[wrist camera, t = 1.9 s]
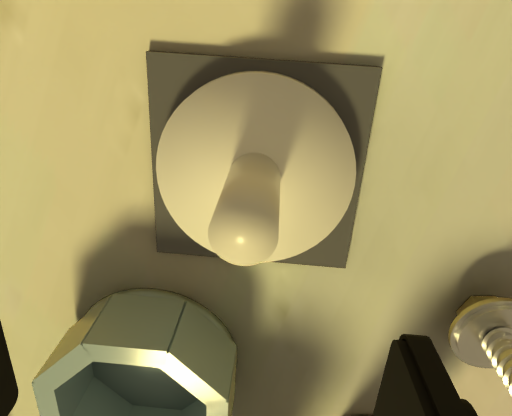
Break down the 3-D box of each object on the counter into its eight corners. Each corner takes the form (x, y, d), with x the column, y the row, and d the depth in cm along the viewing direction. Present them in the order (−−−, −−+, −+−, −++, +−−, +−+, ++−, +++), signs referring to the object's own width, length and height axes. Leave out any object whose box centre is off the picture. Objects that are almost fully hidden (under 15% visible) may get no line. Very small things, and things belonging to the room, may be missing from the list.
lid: (369, 78, 19) (411, 108, 12) (337, 260, 23) (357, 351, 17) (157, 63, 19) (93, 85, 13) (165, 245, 23) (120, 328, 17)
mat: (380, 66, 19) (382, 67, 18) (344, 264, 24) (345, 268, 23) (148, 50, 19) (145, 51, 19) (158, 248, 24) (157, 251, 24)
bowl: (240, 296, 25) (230, 357, 21) (234, 416, 30) (224, 488, 25) (67, 280, 25) (20, 337, 21) (88, 401, 30) (53, 469, 26)
